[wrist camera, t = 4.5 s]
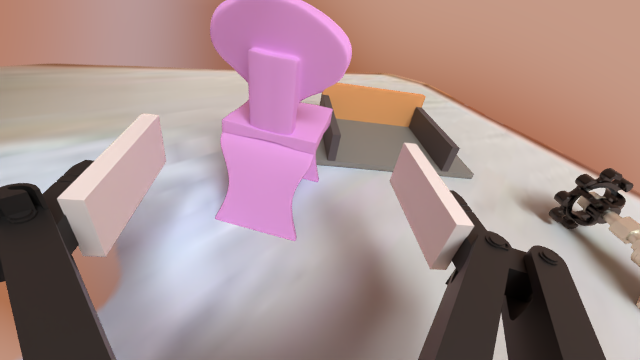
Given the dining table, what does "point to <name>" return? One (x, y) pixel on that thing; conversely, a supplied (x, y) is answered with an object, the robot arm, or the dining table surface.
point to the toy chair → (275, 104)
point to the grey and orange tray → (382, 131)
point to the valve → (600, 208)
